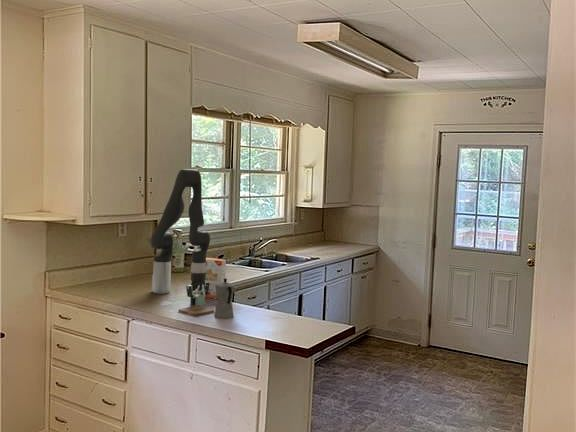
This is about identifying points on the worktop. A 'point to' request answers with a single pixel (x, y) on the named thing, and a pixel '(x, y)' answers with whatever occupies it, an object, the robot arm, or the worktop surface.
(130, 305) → the worktop surface
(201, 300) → the sage block
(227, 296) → the coffeepot
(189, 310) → the walnut board
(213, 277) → the cracker box
